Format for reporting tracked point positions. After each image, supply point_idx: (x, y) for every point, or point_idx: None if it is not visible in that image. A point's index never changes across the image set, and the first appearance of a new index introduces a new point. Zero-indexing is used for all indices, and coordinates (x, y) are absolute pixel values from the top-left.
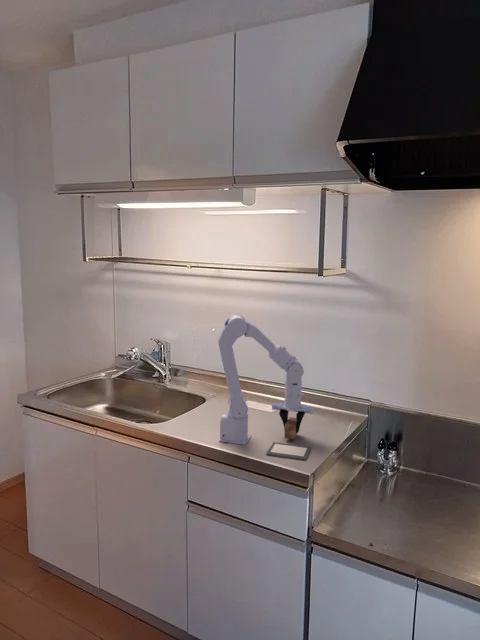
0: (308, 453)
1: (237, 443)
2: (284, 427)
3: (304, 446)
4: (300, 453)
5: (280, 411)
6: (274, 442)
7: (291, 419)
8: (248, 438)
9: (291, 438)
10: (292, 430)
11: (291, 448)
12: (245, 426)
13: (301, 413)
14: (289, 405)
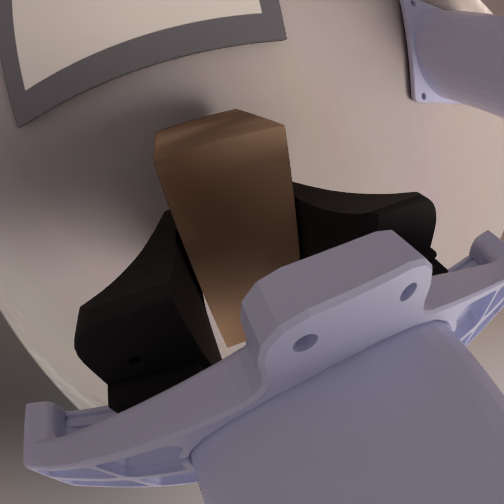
0: (3, 47)
1: (424, 3)
2: None
3: (51, 100)
4: None
5: (429, 254)
6: (277, 35)
7: None
8: (414, 58)
9: (179, 125)
10: (177, 138)
11: (116, 3)
12: (480, 35)
13: (145, 377)
14: (435, 397)
